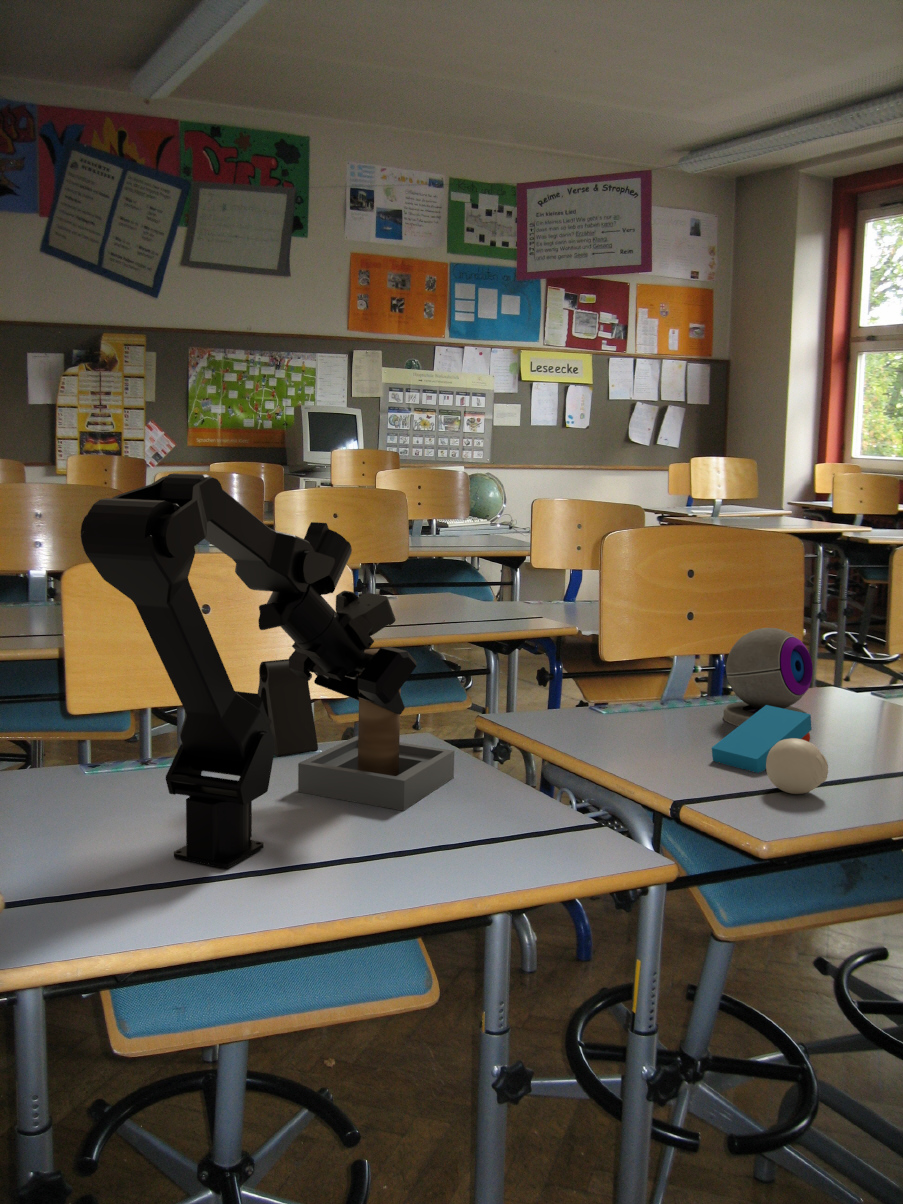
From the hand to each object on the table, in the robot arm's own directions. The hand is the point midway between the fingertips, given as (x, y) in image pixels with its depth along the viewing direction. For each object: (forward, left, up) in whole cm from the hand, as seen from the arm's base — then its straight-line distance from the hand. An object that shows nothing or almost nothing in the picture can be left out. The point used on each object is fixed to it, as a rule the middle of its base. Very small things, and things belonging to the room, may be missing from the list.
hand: (388, 707), depth 124 cm
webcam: (+57, -38, -10) cm, 69 cm away
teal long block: (+37, -41, -10) cm, 56 cm away
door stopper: (+8, +20, -10) cm, 24 cm away
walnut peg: (-1, +1, -8) cm, 8 cm away
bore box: (-1, +1, -9) cm, 10 cm away
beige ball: (+21, -46, -10) cm, 51 cm away
